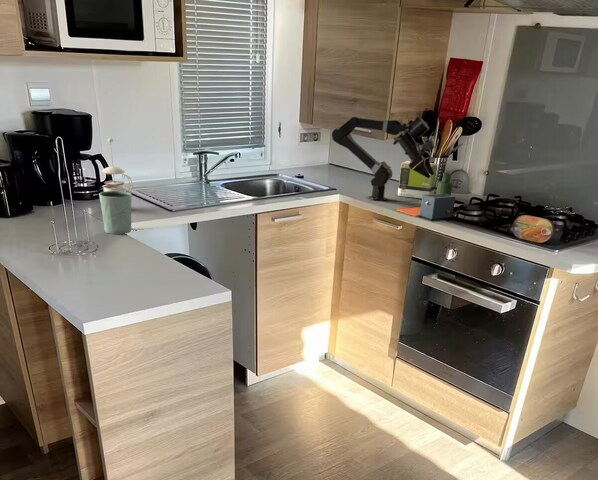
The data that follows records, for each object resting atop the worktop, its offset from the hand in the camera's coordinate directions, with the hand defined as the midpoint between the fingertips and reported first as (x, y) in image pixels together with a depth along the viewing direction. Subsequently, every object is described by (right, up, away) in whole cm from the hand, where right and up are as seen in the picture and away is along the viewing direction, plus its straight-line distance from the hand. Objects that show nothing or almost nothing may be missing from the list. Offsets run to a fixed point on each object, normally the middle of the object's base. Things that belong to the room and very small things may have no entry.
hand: (431, 176), depth 259 cm
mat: (-7, -18, -7) cm, 20 cm away
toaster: (-2, -22, -15) cm, 27 cm away
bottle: (+5, -12, +4) cm, 14 cm away
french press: (-126, -24, -30) cm, 131 cm away
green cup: (-117, -40, -57) cm, 137 cm away
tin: (+28, -38, -39) cm, 61 cm away
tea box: (-3, -1, +23) cm, 23 cm away
